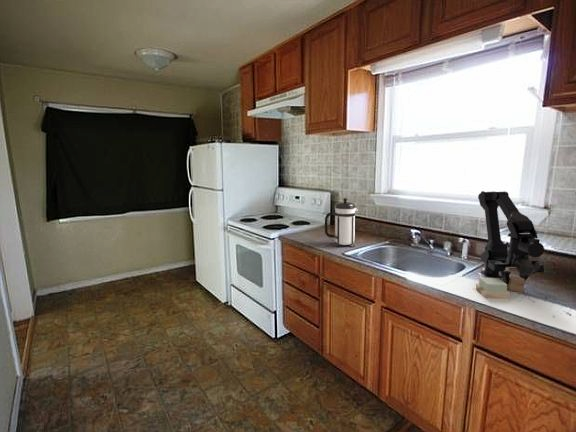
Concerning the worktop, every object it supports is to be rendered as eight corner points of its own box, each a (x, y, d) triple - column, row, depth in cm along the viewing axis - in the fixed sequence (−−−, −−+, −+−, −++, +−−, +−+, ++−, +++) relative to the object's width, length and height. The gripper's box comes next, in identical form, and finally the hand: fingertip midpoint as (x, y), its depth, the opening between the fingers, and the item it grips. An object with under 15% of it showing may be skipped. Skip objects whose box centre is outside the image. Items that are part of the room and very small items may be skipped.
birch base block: (475, 290, 131) (476, 283, 131) (497, 290, 130) (498, 284, 130) (485, 299, 123) (486, 291, 123) (509, 299, 122) (509, 292, 121)
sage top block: (478, 284, 130) (479, 277, 129) (497, 285, 129) (498, 278, 128) (486, 291, 123) (487, 284, 122) (506, 292, 122) (507, 284, 121)
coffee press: (343, 240, 212) (343, 195, 207) (361, 245, 199) (362, 198, 194) (323, 244, 203) (323, 198, 197) (341, 250, 190) (342, 200, 184)
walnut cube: (503, 286, 134) (504, 274, 133) (516, 286, 133) (517, 275, 132) (510, 290, 129) (511, 279, 128) (523, 291, 128) (525, 279, 127)
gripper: (503, 255, 121) (499, 293, 124) (557, 256, 119) (551, 295, 122) (489, 247, 132) (485, 282, 135) (538, 248, 130) (533, 284, 132)
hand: (513, 286), depth 131 cm, fingers closed on walnut cube, 5 cm apart
